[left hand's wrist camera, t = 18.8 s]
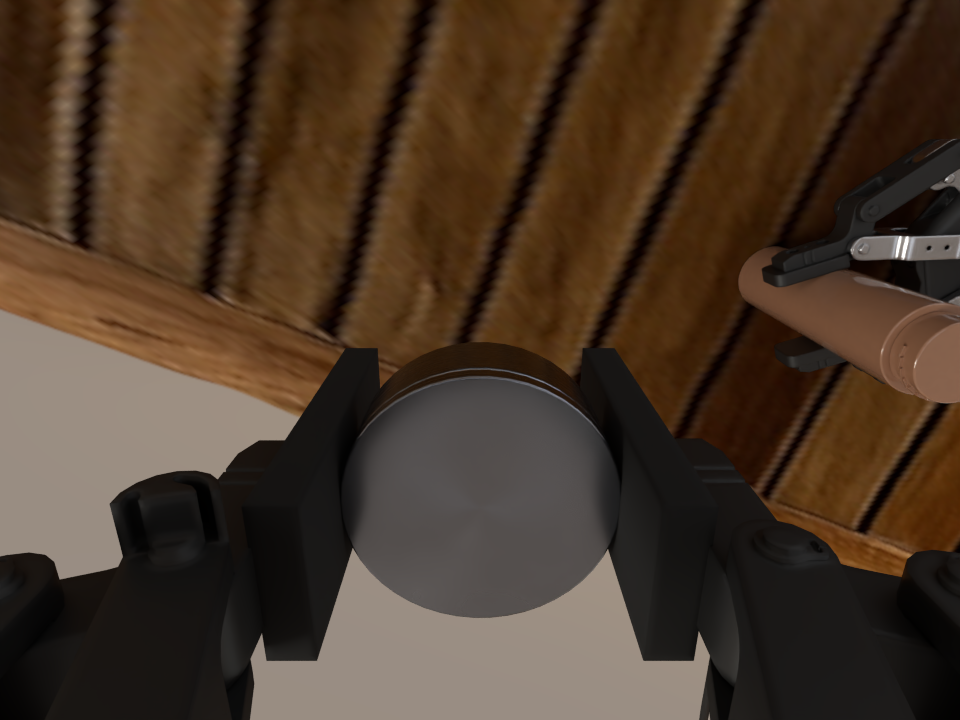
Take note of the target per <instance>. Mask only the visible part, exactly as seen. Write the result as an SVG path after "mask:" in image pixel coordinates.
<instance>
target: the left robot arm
mask: <svg viewBox="0 0 960 720" xmlns="http://www.w3.org/2000/svg"><path fill="white" fill-rule="evenodd" d="M580 388H581V390H582V391H583V392H584V393H585V395H586V396H587V398H588V400H589V402H590V403H591V405H592V407H593V409H594V411H595V413H596V416H597V418H598V420H599V423H600V425H601V427H602V430H603V432H604V434H605V437H606V439H607V442H608V444H609V446H610V448H611V451H612V453H613V456H614V458H615V461H616V463H617V466H618V471H619V475H620V479H621V499H620V510H619V519H618V526H617V529H616V532H615V534H614V537H613V539H612V542H611V544H610V546H609V548H608V550H609V553H610V557H611V560H612V563H613V566H614V569H615V572H616V576H617V579H618V582H619V585H620V588H621V591H622V594H623V598H624V601H625V604H626V607H627V610H628V613H629V616H630V620H631V623H632V626H633V629H634V632H635V635H636V639H637V642H638V645H639V648H640V651H641V654H642V658H643V660H644V661H693V660H694V656H695V650H696V644H697V638H698V632H700V634H701V637H702V639H703V641H704V643H705V646H706V648H707V650H708V652H709V654H710V660H709V665H708V671H707V677H706V682H705V688H704V694H703V699H702V705H701V711H700V718H699V720H708V716H709V713H710V720H960V554H959V553H955V552H945V551H937V550H929V551H921V552H916V553H915V554H913V555H912V556H911V557H909V558H908V559H907V562H906V565H905V568H904V571H903V575H902V577H898V576H893V575H888V574H883V573H878V572H873V571H868V570H864V569H859V568H854V567H850V566H846V565H843V564H841V563H840V561H839V559H838V557H837V555H836V554H835V553H834V552H833V550H832V549H831V548H830V547H829V545H828V544H827V543H826V542H824V541H823V540H821V539H820V538H818V537H817V536H816V535H814V534H813V533H811V532H809V531H806V530H804V529H802V528H800V527H797V526H795V525H793V524H788V523H784V522H780V521H777V520H776V519H775V517H774V516H773V515H772V513H771V512H770V511H769V510H768V508H767V507H766V506H765V505H764V503H763V502H762V501H761V500H760V498H759V497H758V496H757V495H756V493H755V492H754V491H753V489H752V488H751V487H750V486H749V484H748V483H745V479H744V478H743V477H742V476H741V474H740V473H739V472H738V471H737V470H735V467H734V465H733V464H732V463H731V462H730V460H729V459H728V458H727V457H726V455H725V454H724V453H723V452H722V451H721V450H719V449H717V448H716V447H714V446H713V445H711V444H709V443H708V442H706V441H705V440H703V439H674V438H673V436H672V435H671V433H670V432H669V430H668V429H667V427H666V425H665V424H664V422H663V421H662V419H661V418H660V416H659V415H658V413H657V412H656V410H655V409H654V407H653V406H652V404H651V403H650V401H649V400H648V398H647V397H646V395H645V394H644V392H643V391H642V389H641V388H640V386H639V385H638V383H637V382H636V380H635V379H634V377H633V376H632V374H631V373H630V371H629V370H628V368H627V367H626V365H625V364H624V362H623V361H622V359H621V358H620V356H619V354H618V353H617V351H616V350H615V348H583V354H582V369H581V385H580ZM379 390H380V379H379V364H378V348H346V349H345V350H344V352H343V354H342V355H341V357H340V358H339V360H338V361H337V363H336V364H335V366H334V367H333V369H332V370H331V372H330V373H329V375H328V376H327V378H326V379H325V381H324V382H323V384H322V385H321V387H320V388H319V390H318V391H317V393H316V394H315V396H314V397H313V399H312V400H311V402H310V403H309V405H308V406H307V408H306V409H305V411H304V412H303V414H302V415H301V417H300V419H299V420H298V422H297V423H296V425H295V426H294V428H293V429H292V431H291V432H290V434H289V435H288V437H287V438H286V440H281V441H280V440H279V441H277V440H275V441H274V440H269V441H267V440H264V441H263V440H260V441H258V442H256V443H254V444H253V445H251V446H250V447H248V448H246V449H245V450H243V451H242V452H240V453H238V455H237V456H236V457H235V458H234V460H233V461H232V462H231V463H230V465H229V466H228V467H227V468H226V472H223V474H222V475H221V476H220V477H219V479H216V478H215V477H214V476H212V475H211V474H208V473H204V472H199V471H176V472H171V473H166V474H161V475H156V476H154V477H151V478H148V479H146V480H143V481H140V482H138V483H136V484H134V485H132V486H131V487H129V488H127V489H126V490H124V491H122V492H121V493H119V494H118V496H117V497H116V498H115V499H114V500H113V501H112V502H111V503H110V507H111V511H112V515H113V519H114V523H115V527H116V531H117V535H118V538H119V542H120V546H121V550H122V554H123V558H122V560H121V562H120V564H119V566H118V567H116V568H113V569H109V570H105V571H100V572H95V573H90V574H86V575H80V576H75V577H70V578H66V579H61V580H59V576H58V573H57V570H56V566H55V563H54V561H52V560H51V559H50V558H48V557H47V556H46V555H42V554H35V553H21V554H13V555H5V556H1V557H0V720H250V714H251V706H252V698H253V690H254V679H253V671H252V665H251V660H250V658H251V656H252V654H253V652H254V649H255V647H256V645H257V643H258V640H259V638H260V636H261V634H262V635H263V642H264V648H265V654H266V660H267V661H317V659H318V656H319V652H320V649H321V646H322V643H323V640H324V637H325V633H326V630H327V627H328V624H329V621H330V618H331V615H332V611H333V608H334V605H335V602H336V599H337V596H338V592H339V589H340V586H341V583H342V580H343V577H344V573H345V570H346V567H347V564H348V561H349V558H350V554H351V551H352V548H353V547H352V545H351V543H350V541H349V538H348V536H347V534H346V531H345V528H344V524H343V520H342V515H341V505H340V483H341V478H342V473H343V468H344V465H345V462H346V460H347V457H348V454H349V452H350V449H351V447H352V445H353V442H354V440H355V437H356V435H357V433H358V430H359V428H360V426H361V423H362V421H363V419H364V416H365V414H366V412H367V409H368V408H369V406H370V404H371V402H372V400H373V398H374V397H375V395H376V394H377V393H378V391H379Z"/></svg>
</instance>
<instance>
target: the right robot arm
mask: <svg viewBox="0 0 960 720" xmlns="http://www.w3.org/2000/svg"><path fill="white" fill-rule="evenodd" d="M943 188H945V190H944V191H943V192H942V193H941V194H940V195H939V196H938V197H937V198H936V199H935V200H934V201H933V202H932V203H931V204H930V205H929V206H928V207H927V208H926V209H925V210H924V212H923V213H922V214H921V215H920V216H919V217H918V218H917V219H916V220H915V221H914V222H913V223H912V224H911V225H910V226H909V227H885V228H874V226H875V222H876V221H878V220H880V219H881V218H883V217H885V216H886V215H888V214H889V213H891V212H892V211H894V210H896V209H897V208H899V207H900V206H902V205H904V204H905V203H907V202H908V201H910V200H911V199H913V198H915V197H916V196H918V195H919V194H921V193H922V192H924V191H926V190H927V189H930V190H941V189H943ZM834 212H835V214H836V215H837V220H836V224H835V227H834V229H833V231H832V232H831V233H830V234H829V235H828V236H826V237H824V238H822V239H818V240H815V241H812V242H809V243H806V244H803V245H799V246H796V247H793V248H791V249H787V250H783V251H780V252H779V253H777V254H776V255H774V256H773V257H772V258H771V261H772V264H771V265H768V266H765V267H763V268H762V275H763V281H764V282H766V283H768V284H770V285H772V286H774V287H786V286H790V285H793V284H796V283H800V282H803V281H806V280H809V279H813V278H816V277H819V276H822V275H826V274H829V273H832V272H835V271H839V270H842V269H845V268H848V267H850V261H851V260H854V259H856V260H886V259H891V264H892V266H893V269H894V271H895V273H896V279H895V285H898V286H901V287H904V288H907V289H910V290H913V291H916V292H919V293H922V294H925V295H928V296H931V297H934V298H937V299H940V300H943V301H946V302H949V303H952V304H955V305H958V306H960V139H934V140H928V141H926V142H924V143H923V144H921V145H920V146H918V147H917V148H915V149H914V150H912V151H911V152H909V153H907V154H906V155H904V156H903V157H901V158H900V159H898V160H897V161H895V162H894V163H892V164H891V165H889V166H887V167H886V168H884V169H883V170H881V171H880V172H878V173H877V174H875V175H874V176H872V177H871V178H869V179H868V180H866V181H864V182H863V183H861V184H860V185H858V186H857V187H855V188H854V189H852V190H851V191H849V192H848V193H846V194H844V195H843V196H841V197H840V198H839V199H838V200H837V201H836V203H835V205H834ZM774 349H775V354H776V358H777V359H778V360H779V361H781V362H782V363H783V364H785V365H786V366H788V367H791V368H796V369H797V370H799V371H800V372H811V371H815V370H818V369H822V368H825V367H827V366H832V365H835V364H839V363H842V362H846V360H845V359H843V358H841V357H839V356H838V355H836V354H834V353H833V352H831V351H829V350H827V349H826V348H824V347H822V346H821V345H819V344H817V343H815V342H814V341H812V340H810V339H809V338H807V337H805V336H802V337H798V338H795V339H792V340H788V341H785V342H782V343H779V344H776V345H775V346H774ZM852 365H853V364H852ZM853 366H854V367H855V368H857V369H858V370H860V371H863V370H862V369H860V368H858V367H856V366H855V365H853ZM863 372H865V371H863ZM865 373H867V372H865ZM867 374H868V373H867ZM869 375H870V374H869ZM870 376H872V375H870ZM872 377H874V376H872ZM874 379H876V380H877V381H879V382H881V383H883V384H886V383H884V382H882V381H880V380H879V379H877V378H875V377H874Z"/></svg>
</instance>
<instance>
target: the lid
mask: <svg viewBox="0 0 960 720" xmlns="http://www.w3.org/2000/svg"><path fill="white" fill-rule="evenodd" d="M620 499H621V479H620V475H619V471H618V466H617V463H616V461H615V458H614V456H613V453H612V451H611V448H610V446H609V444H608V442H607V439H606V437H605V434H604V432H603V430H602V427H601V425H600V423H599V420H598V418H597V416H596V413H595V411H594V409H593V407H592V405H591V403H590V402H589V400H588V398H587V396H586V395H585V393H584V392H583V391H582V390H581V388H580V387H579V386H578V384H577V383H576V382H575V381H574V380H573V379H572V378H571V377H570V376H569V375H568V374H567V373H566V372H564V371H563V370H562V369H560V368H559V367H558V366H556V365H555V364H553V363H552V362H550V361H549V360H547V359H545V358H543V357H541V356H539V355H537V354H535V353H532V352H530V351H527V350H525V349H522V348H518V347H514V346H510V345H506V344H499V343H490V342H470V343H463V344H456V345H451V346H447V347H443V348H440V349H436V350H434V351H431V352H429V353H427V354H424V355H422V356H420V357H418V358H416V359H415V360H413V361H411V362H409V363H408V364H406V365H405V366H404V367H402V368H401V369H400V370H398V371H397V372H396V373H395V374H394V375H393V376H392V377H391V378H390V379H389V380H388V381H387V382H386V383H385V384H384V385H383V386H382V387H381V389H380V390H379V391H378V393H377V394H376V395H375V397H374V398H373V400H372V402H371V404H370V406H369V408H368V409H367V412H366V414H365V416H364V419H363V421H362V423H361V426H360V428H359V430H358V433H357V435H356V437H355V440H354V442H353V445H352V447H351V449H350V452H349V454H348V457H347V460H346V462H345V465H344V468H343V473H342V478H341V483H340V505H341V515H342V520H343V524H344V528H345V531H346V534H347V536H348V538H349V541H350V543H351V545H352V547H353V549H354V550H355V552H356V554H357V555H358V557H359V559H360V560H361V561H362V563H363V564H364V565H365V566H366V568H367V569H368V570H369V571H370V572H371V573H372V574H373V575H374V576H375V577H376V578H377V579H378V580H379V581H380V582H381V583H382V584H384V585H385V586H386V587H388V588H389V589H390V590H392V591H393V592H394V593H396V594H398V595H399V596H401V597H403V598H405V599H406V600H408V601H410V602H412V603H415V604H417V605H419V606H421V607H424V608H427V609H430V610H433V611H436V612H439V613H444V614H449V615H454V616H462V617H472V618H487V617H488V618H490V617H499V616H508V615H512V614H517V613H522V612H525V611H528V610H531V609H534V608H537V607H540V606H542V605H545V604H547V603H549V602H551V601H553V600H555V599H557V598H559V597H560V596H562V595H564V594H565V593H567V592H568V591H570V590H571V589H572V588H574V587H575V586H576V585H578V584H579V583H580V582H581V581H583V580H584V579H585V578H586V577H587V576H588V575H589V574H590V573H591V572H592V570H593V569H594V568H595V567H596V566H597V564H598V563H599V562H600V560H601V559H602V558H603V556H604V555H605V553H606V551H607V549H608V548H609V546H610V544H611V542H612V539H613V537H614V534H615V532H616V529H617V526H618V519H619V510H620Z"/></svg>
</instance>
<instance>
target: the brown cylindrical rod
mask: <svg viewBox="0 0 960 720" xmlns="http://www.w3.org/2000/svg"><path fill="white" fill-rule="evenodd" d="M783 250H787V248H784V247H778V246H774V247H767V248H764V249H762V250H759V251H758V252H756V253H754V254H753V255H752V256H751V257H750V258H749V259H748V260H747V261H746V262H745V264H744V265H743V267H742V269H741V272H740V275H739V290H740V293H741V295H742V297H743V298H744V299H745V300H746V301H747V302H748V303H749V304H750V305H752V306H754V307H756V308H757V309H759V310H761V311H762V312H764V313H766V314H768V315H769V316H771V317H773V318H774V319H776V320H778V321H780V322H781V323H783V324H785V325H786V326H788V327H790V328H791V329H793V330H795V331H797V332H798V333H800V334H802V335H803V336H805V337H807V338H809V339H810V340H812V341H814V342H815V343H817V344H819V345H821V346H822V347H824V348H826V349H827V350H829V351H831V352H833V353H834V354H836V355H838V356H839V357H841V358H843V359H845V360H846V361H848V362H850V363H851V364H853V365H855V366H856V367H858V368H860V369H862V370H863V371H865V372H867V373H868V374H870V375H872V376H874V377H875V378H877V379H879V380H880V381H882V382H884V383H886V384H887V385H889V386H891V387H892V388H894V389H896V390H898V391H900V392H903V393H906V394H913V395H916V396H918V397H920V398H923V399H925V400H927V401H934V402H939V403H954V402H959V401H960V306H958V305H955V304H952V303H949V302H946V301H943V300H940V299H937V298H934V297H931V296H928V295H925V294H922V293H919V292H916V291H913V290H910V289H907V288H904V287H901V286H898V285H895V284H892V283H889V282H886V281H883V280H880V279H877V278H874V277H871V276H868V275H865V274H862V273H859V272H856V271H853V270H850V269H847V268H845V269H842V270H839V271H835V272H832V273H829V274H826V275H822V276H819V277H816V278H813V279H809V280H806V281H803V282H800V283H796V284H793V285H790V286H786V287H774V286H772V285H770V284H768V283H766V282H764V281H763V275H762V268H763V267H765V266H768V265H771V264H772V261H771V258H772V257H773V256H774V255H776V254H777V253H779V252H780V251H783Z"/></svg>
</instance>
